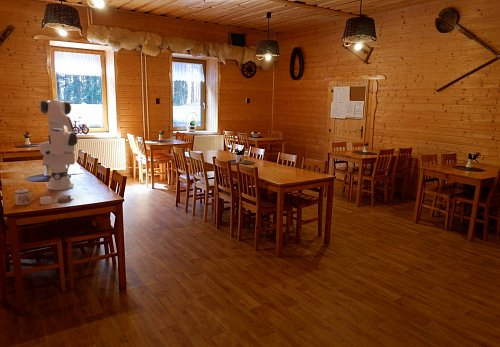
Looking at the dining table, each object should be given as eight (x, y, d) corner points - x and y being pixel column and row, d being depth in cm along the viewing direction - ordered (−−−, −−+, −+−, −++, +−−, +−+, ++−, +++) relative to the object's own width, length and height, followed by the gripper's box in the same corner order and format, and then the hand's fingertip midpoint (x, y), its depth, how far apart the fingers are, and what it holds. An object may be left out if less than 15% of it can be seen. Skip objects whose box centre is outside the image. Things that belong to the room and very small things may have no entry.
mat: (59, 200, 274) (59, 199, 274) (74, 199, 276) (74, 198, 276) (54, 204, 262) (54, 203, 262) (69, 204, 264) (69, 202, 264)
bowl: (42, 203, 266) (42, 196, 265) (52, 202, 267) (52, 196, 266) (39, 205, 259) (38, 198, 258) (49, 205, 261) (49, 198, 260)
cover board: (61, 199, 273) (61, 195, 272) (70, 199, 274) (70, 195, 273) (58, 202, 264) (57, 198, 264) (67, 202, 265) (67, 198, 265)
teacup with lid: (17, 206, 258) (15, 189, 256) (14, 203, 264) (12, 187, 262) (36, 203, 266) (35, 187, 264) (33, 200, 272) (31, 184, 270)
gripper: (75, 150, 269) (76, 170, 271) (44, 151, 265) (45, 170, 267) (73, 151, 263) (74, 171, 265) (41, 152, 259) (42, 171, 261)
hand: (59, 171), depth 266 cm, fingers open, 8 cm apart
